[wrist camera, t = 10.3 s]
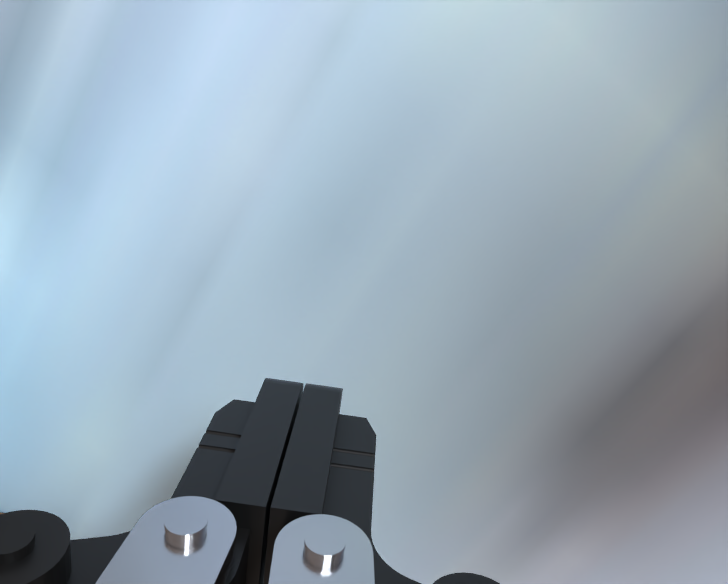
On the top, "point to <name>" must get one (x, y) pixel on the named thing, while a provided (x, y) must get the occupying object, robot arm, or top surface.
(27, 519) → the robot arm
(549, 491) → the top surface
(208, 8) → the top surface
